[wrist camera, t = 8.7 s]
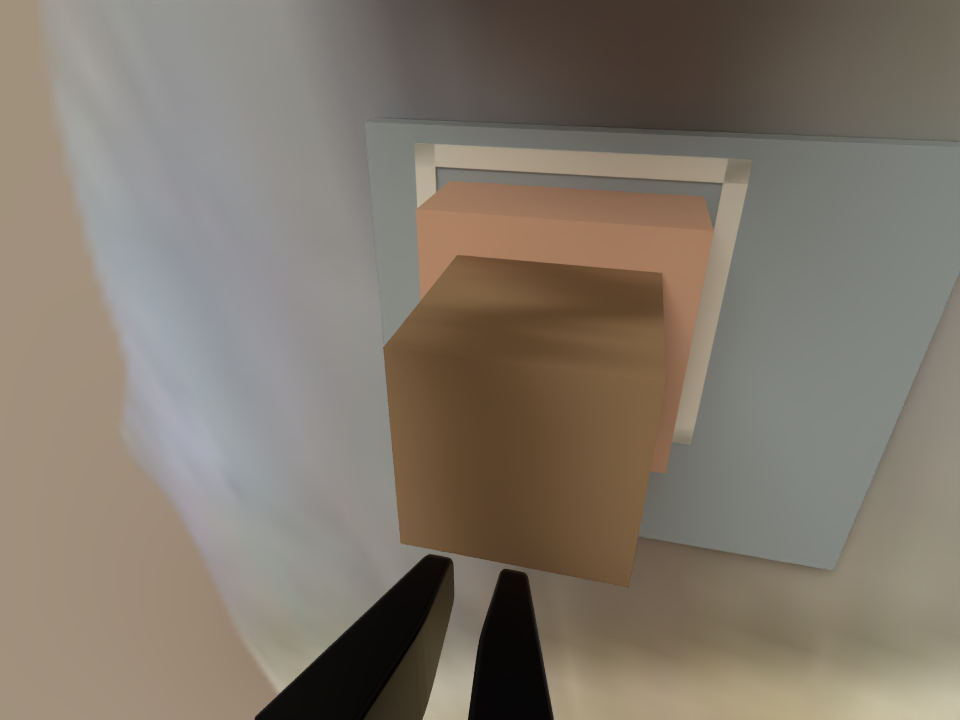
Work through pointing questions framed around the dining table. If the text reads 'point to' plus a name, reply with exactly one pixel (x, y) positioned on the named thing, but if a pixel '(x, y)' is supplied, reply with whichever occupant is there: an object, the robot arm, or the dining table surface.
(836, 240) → the grey flat slab
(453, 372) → the walnut cube
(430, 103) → the dining table surface
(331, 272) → the dining table surface
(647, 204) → the terracotta base
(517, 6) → the dining table surface
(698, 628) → the dining table surface
